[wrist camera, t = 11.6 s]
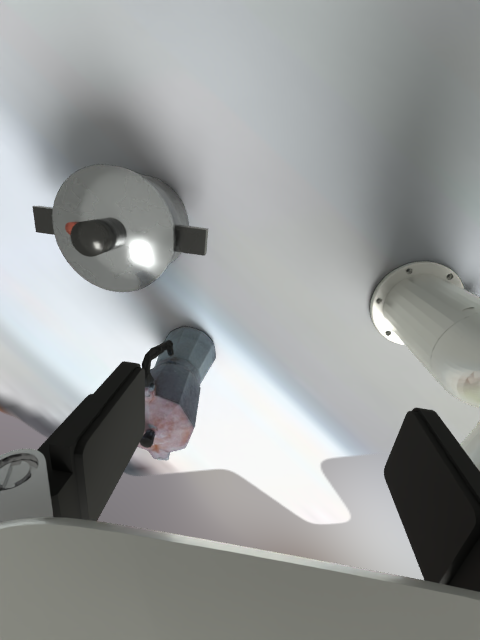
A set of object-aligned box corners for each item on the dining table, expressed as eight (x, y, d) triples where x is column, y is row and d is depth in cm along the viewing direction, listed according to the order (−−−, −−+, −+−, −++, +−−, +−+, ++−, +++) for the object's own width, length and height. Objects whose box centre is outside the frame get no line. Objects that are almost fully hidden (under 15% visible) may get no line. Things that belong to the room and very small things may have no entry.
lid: (178, 174, 33) (158, 170, 27) (173, 296, 39) (155, 315, 33) (52, 157, 34) (6, 149, 28) (64, 280, 39) (28, 296, 33)
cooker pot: (220, 185, 42) (208, 183, 33) (212, 278, 47) (200, 296, 38) (69, 165, 42) (20, 158, 34) (77, 259, 47) (37, 273, 39)
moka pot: (169, 387, 55) (118, 485, 37) (151, 306, 49) (80, 374, 31) (222, 385, 54) (197, 486, 35) (210, 302, 48) (172, 370, 30)
